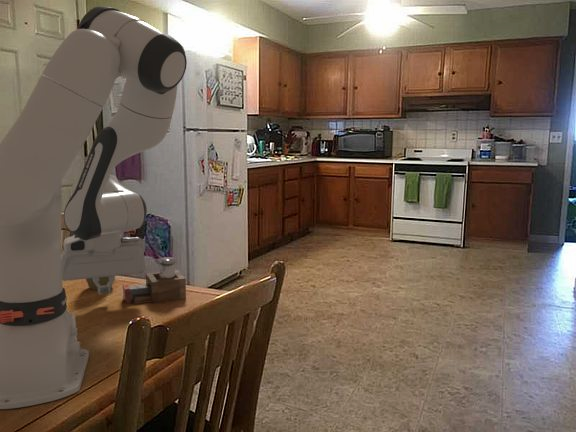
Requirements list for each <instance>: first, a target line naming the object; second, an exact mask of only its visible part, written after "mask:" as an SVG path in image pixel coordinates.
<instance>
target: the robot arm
mask: <svg viewBox="0 0 576 432" xmlns="http://www.w3.org/2000/svg"><path fill="white" fill-rule="evenodd" d="M187 61H188V60H187V56H186V51H185V48H184V47H183V45H182V44H181V43H180V42H179V41H178V40H176V39H175V38H174V37H173V36H171V35H170V34H166V33H164V32H163V31H161V30H159V29H157V28H156V27H154V26H152V25H150V24H148V23H147V22H146V21H144V20H143V19H141V18H138V17H137V16H134V15H130V14H128V13H125V12H122V11H121V10H119V9H117V8H115V7H110V6H103V5H99V6H95V7H93V8H91V9H89V11H87V13H85V15H84V16H83V17H82V18H81V20H80V22H79V24H78V27H77V28H76V29H75V30H73V31H71V32H70V33H69V34H68V36H67V37H66V38H65V39H64V40H63V41H62V42H61V44H60V45H59V46H58V48H57V49H56V50H55V52H54V53H53V54H52V56H51V57H50V58H49V60H48V62H47V64H46V65H45V68H44V69H43V71H42V73H41V74H40V77H39V78H38V81H37V82H36V85H35V86H34V87H33V90H32V92H31V94H30V96H29V97H28V100H27V102H26V103H25V105H24V108H23V109H22V111H21V113H20V114H19V116H18V118H17V119H16V121H15V122H14V124H13V125H12V126H11V128H9V130H8V132H7V133H6V135H4V137H3V139H2V141H1V142H0V410H9V409H17V408H25V407H30V406H31V407H32V406H36V405H41V404H45V403H49V402H54V401H57V400H61V399H63V398H66V397H70V396H72V395H73V394H75V393H78V392H79V391H80V390H81V387H82V383H83V380H84V376H85V372H86V369H87V365H88V362H89V357H90V353H89V352H90V351H89V350H87V349H85V348H81V341H78V339H77V336H79V328H78V327H77V324H76V322H77V321H76V316H75V315H74V314H72V313H70V312H69V311H68V309H67V307H68V306H67V301H68V300H67V294H66V289H65V288H64V287H63V282H64V281H66V282H67V281H75V280H76V281H77V280H86V279H87V278H93V282H94V283H95V285H96V286H97V288H98V290H97V294H98V295H103V294H112V293H111V289H112V286H113V284H114V282H115V280H116V277H117V276H126V275H133V274H134V275H135V274H136V275H137V274H142V273H144V271H146V262H145V255H144V253H145V251H146V242H145V240H144V239H142V238H140V237H138V236H136V237H122V235H121V233H125V232H126V233H127V232H130V231H135V230H137V229H141V227H143V225H144V224H145V221H146V219H147V215H148V214H147V212H148V211H147V210H148V209H147V205H146V204H147V203H146V201H145V199H144V198H143V196H142V195H141V194H139V193H138V192H137V191H133V190H130V189H128V188H127V187H125V186H123V184H121V183H120V181H119V179H118V177H117V175H113V174H112V173H113V170H114V169H116V166H118V165H119V164H120V163H122V162H123V161H124V160H126V159H129V158H130V157H133V156H134V155H137V154H139V153H142V152H145V151H148V150H150V149H152V148H154V147H156V146H158V145H159V144H160V143H162V141H164V139H165V137H166V135H167V134H168V131H169V129H170V125H171V122H172V117H173V116H174V115H173V114H174V110H175V107H176V106H175V105H176V99H177V94H178V85H179V84H180V82H181V81H182V79H183V77H184V75H185V74H186V70H187V63H188V62H187ZM118 77H122V78H124V79H125V83H124V85H123V89H122V93H121V96H120V101H119V103H118V107H117V110H116V112H115V114H114V116H113V117H112V118H111V120H110V122H109V123H108V124H107V125H106V126H105V127H104V128H102V129H101V130H100V131H99V132H98V133H97V134H96V137H94V138H95V139H94V141H93V143H92V145H91V148H90V150H89V153H88V156H87V158H86V161H85V163H84V165H83V169H82V170H81V173H80V177H79V179H78V182H77V184H76V186H75V190H74V191H73V193H72V195H71V197H70V198H69V199H68V201H67V203H66V205H65V208H64V210H62V207H63V206H62V205H63V196H62V193H63V192H62V189H63V188H62V186H63V185H62V184H63V183H62V182H63V179H64V177H65V176H66V174H67V173H68V171H69V169H70V167H71V166H72V164H73V163H74V161H75V159H76V157H77V155H79V153H80V151H81V150H82V148H83V146H84V145H85V143H86V141H87V139H88V137H89V135H90V133H91V132H92V129H93V128H94V125H96V122H97V120H98V118H99V116H100V115H101V112H102V110H103V109H104V107H105V105H106V103H107V101H108V99H109V96H110V94H111V92H112V90H113V87H114V84H115V82H116V80H117V78H118ZM62 211H63V221H64V225H65V228H66V229H67V230H68V231H69V233H71V234H72V236H68V237H66V238H65V239H64V240H63V248H64V249H63V250H62V251H61V242H62V241H61V239H62V238H61V237H62ZM107 276H108V279H109V282H108V284H107V285H102V286H100V284H99V283H98V281H99V277H107Z"/></svg>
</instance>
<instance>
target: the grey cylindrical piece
mask: <svg viewBox="0 0 576 432" xmlns="http://www.w3.org/2000/svg"><path fill="white" fill-rule="evenodd" d="M176 263H177V258H176V257H171V256H168V257H167V256H166V257H160V258H157V264H159V265H158V267H159V271H158V272H159V274H160V280H161V279H170V278H175V270H176Z"/></svg>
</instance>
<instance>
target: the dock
mask: <svg viewBox="0 0 576 432" xmlns="http://www.w3.org/2000/svg"><path fill="white" fill-rule="evenodd" d="M186 280H187V279H186V277H185V276H184V275H183V274H182V273H181V272H180V270H178V269H175V278H170V279H161V280H160V274H159V271H154V272H146V273H145V285H148V284H149V285H150V292H151V295H143V296H135V297H134V301H133V302H134V303H133V304H143V303H152V304H155V303H164V302H170V301H176V300H185V299H187V287H186V286H187V285H186V284H187V283H186V282H187V281H186Z"/></svg>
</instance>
